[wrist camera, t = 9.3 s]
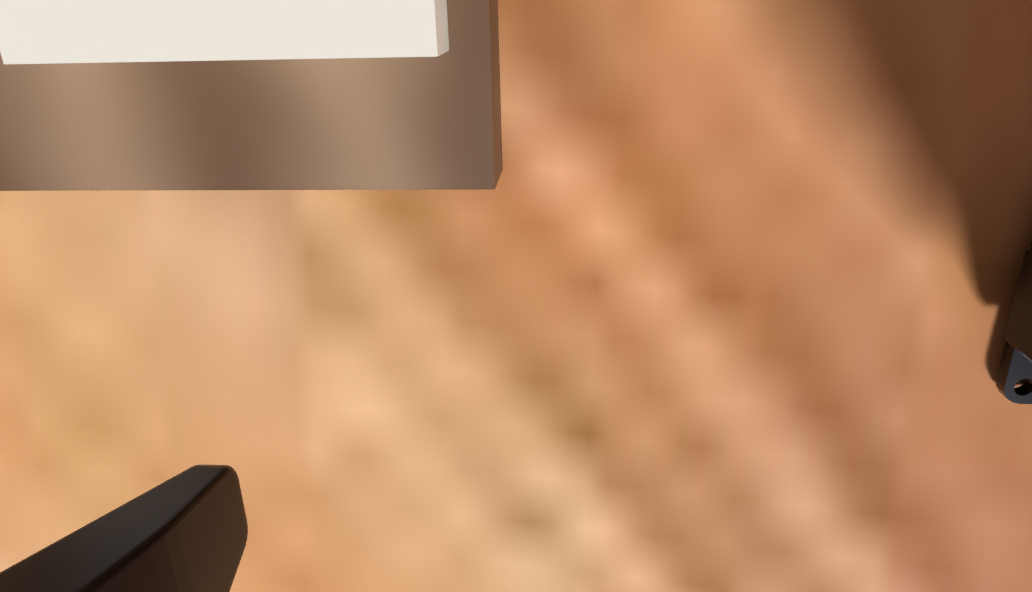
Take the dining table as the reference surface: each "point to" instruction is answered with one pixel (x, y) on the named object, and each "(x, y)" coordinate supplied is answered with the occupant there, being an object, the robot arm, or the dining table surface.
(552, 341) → the dining table surface
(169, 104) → the peg board
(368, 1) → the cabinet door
